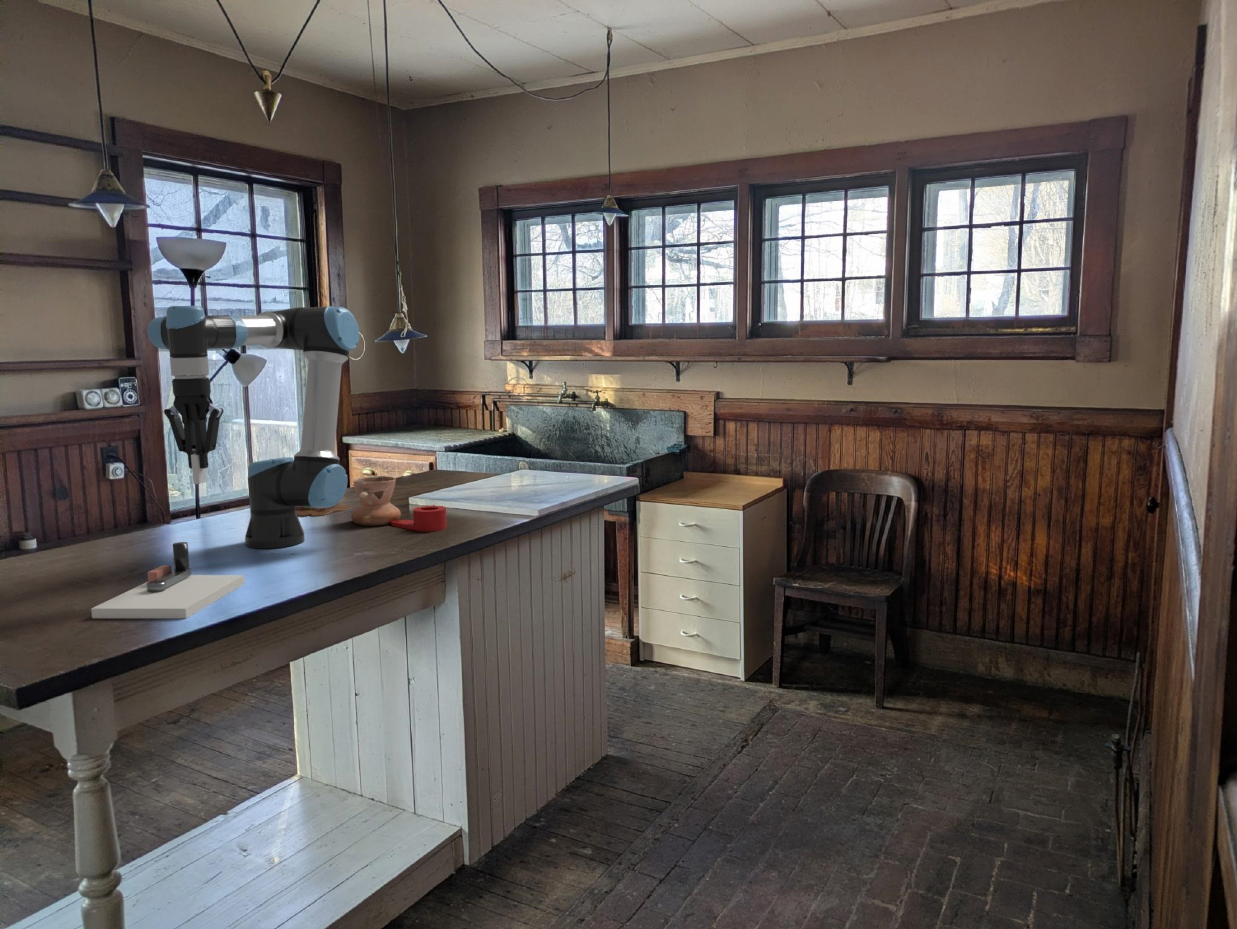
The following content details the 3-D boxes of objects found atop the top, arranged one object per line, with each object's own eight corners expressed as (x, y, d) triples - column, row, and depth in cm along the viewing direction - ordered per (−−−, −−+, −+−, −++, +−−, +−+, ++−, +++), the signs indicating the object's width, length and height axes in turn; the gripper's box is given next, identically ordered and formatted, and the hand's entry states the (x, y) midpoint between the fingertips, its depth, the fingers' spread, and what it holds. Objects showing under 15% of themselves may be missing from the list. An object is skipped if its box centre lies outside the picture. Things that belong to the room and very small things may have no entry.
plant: (318, 508, 299) (316, 475, 297) (360, 513, 289) (358, 479, 288) (269, 518, 281) (266, 483, 280) (312, 524, 272) (310, 488, 270)
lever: (452, 529, 262) (452, 506, 261) (435, 535, 253) (434, 512, 252) (401, 525, 268) (400, 503, 267) (382, 531, 260) (381, 508, 259)
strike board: (162, 583, 201) (160, 562, 201) (244, 583, 201) (243, 562, 200) (92, 618, 176) (89, 593, 175) (186, 618, 175) (184, 593, 175)
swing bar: (160, 591, 186) (157, 556, 185) (143, 591, 186) (140, 556, 185) (193, 574, 200) (191, 542, 200) (177, 574, 201) (175, 542, 200)
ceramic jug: (387, 531, 258) (385, 483, 256) (340, 530, 260) (338, 482, 258) (411, 519, 275) (410, 474, 274) (368, 518, 278) (366, 473, 276)
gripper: (228, 375, 197) (236, 480, 201) (173, 376, 199) (183, 479, 202) (208, 377, 190) (217, 486, 193) (152, 378, 191) (162, 485, 195)
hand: (200, 482), depth 198 cm, fingers closed
